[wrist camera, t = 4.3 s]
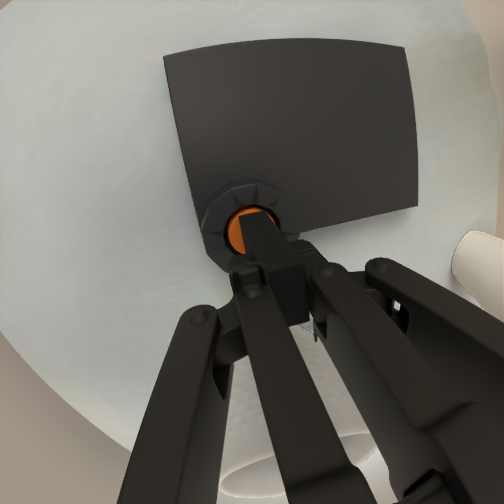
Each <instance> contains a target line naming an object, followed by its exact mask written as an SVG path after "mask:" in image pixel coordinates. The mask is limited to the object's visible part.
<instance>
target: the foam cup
mask: <svg viewBox="0 0 504 504" xmlns="http://www.w3.org/2000/svg"><path fill="white" fill-rule="evenodd" d="M452 272H453V276H454V277H456V279H457V280H458V281H459V282H460V283H461V284H462V285H463V286H464V288H465V289H466V290H467V291H468V292H469V293H470V294H471V295H472V296H473V297H474V298H475V300H476V301H477V302H478V303H479V304H480V305H481V306H482V308H483V309H484V310H485V311H486V312H487V313H489V314H491V315H492V316H494V317H495V318H497V319H499V320H500V321H502V322H504V240H502V239H500V238H497V237H494V236H492V235H489V234H486V233H483V232H481V231H477V230H473V231H470V232H468V233H467V234H466V235H465V236H464V237H463V238H462V240H461V241H460V243H459V244H458V246H457V248H456V251H455V254H454V256H453V260H452Z"/></svg>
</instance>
